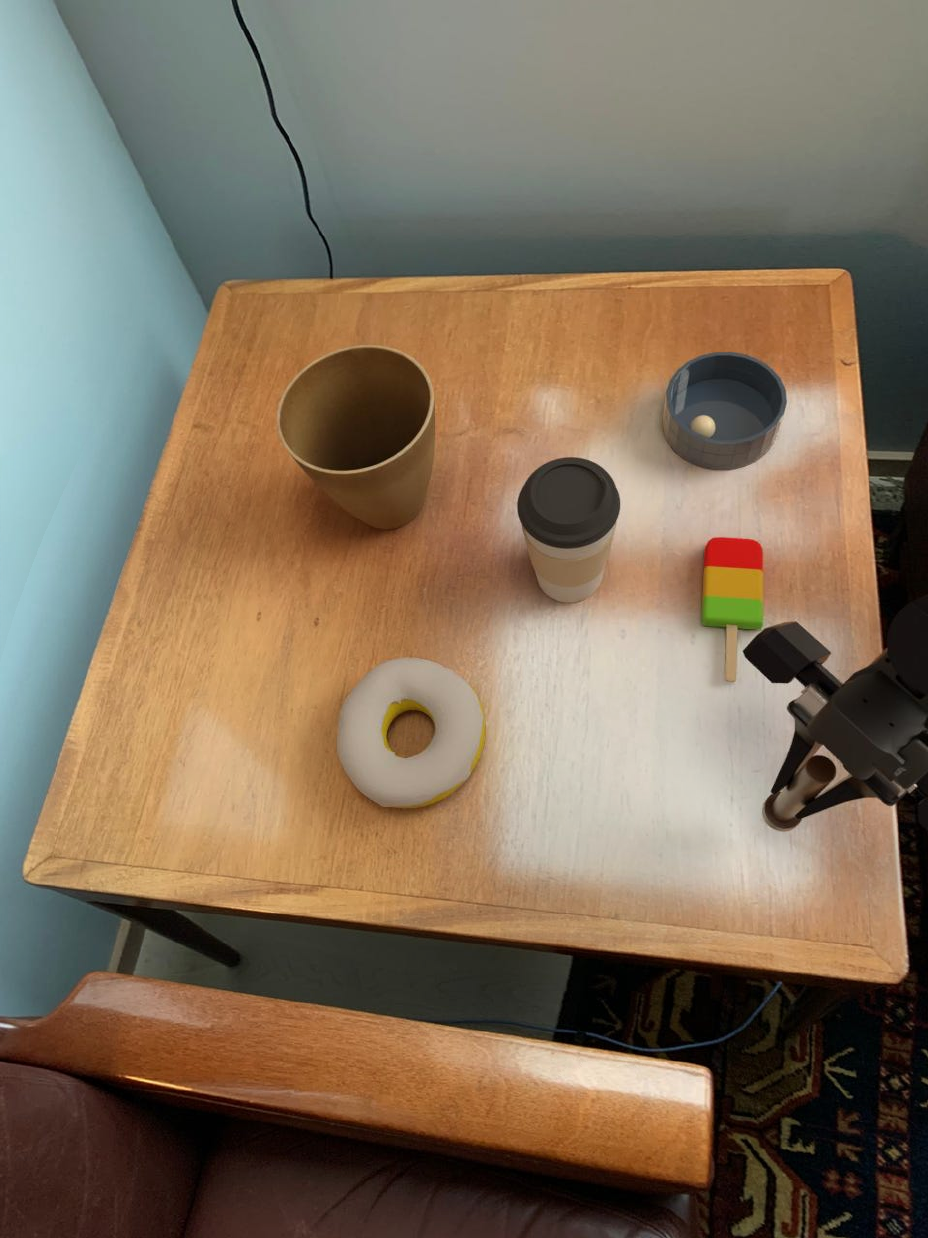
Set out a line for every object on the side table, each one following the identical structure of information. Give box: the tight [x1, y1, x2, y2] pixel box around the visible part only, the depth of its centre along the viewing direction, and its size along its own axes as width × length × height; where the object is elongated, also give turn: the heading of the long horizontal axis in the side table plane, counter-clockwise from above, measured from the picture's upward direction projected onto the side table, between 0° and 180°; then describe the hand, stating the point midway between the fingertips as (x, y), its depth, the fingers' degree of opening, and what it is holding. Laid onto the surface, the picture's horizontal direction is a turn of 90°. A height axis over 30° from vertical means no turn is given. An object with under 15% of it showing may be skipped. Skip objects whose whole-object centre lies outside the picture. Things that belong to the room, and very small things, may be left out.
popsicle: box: [701, 536, 764, 683], centre depth 83 cm, size 6×15×2 cm, turn 172°
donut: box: [336, 656, 487, 809], centre depth 80 cm, size 14×14×5 cm
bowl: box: [662, 351, 788, 471], centre depth 91 cm, size 12×12×4 cm
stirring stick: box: [761, 754, 837, 833], centre depth 64 cm, size 3×3×13 cm
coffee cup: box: [516, 456, 621, 604], centre depth 81 cm, size 9×9×15 cm
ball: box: [690, 415, 715, 438], centre depth 91 cm, size 3×3×3 cm
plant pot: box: [276, 344, 436, 531], centre depth 87 cm, size 15×15×16 cm
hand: (785, 804), depth 64 cm, fingers closed on stirring stick, 2 cm apart
